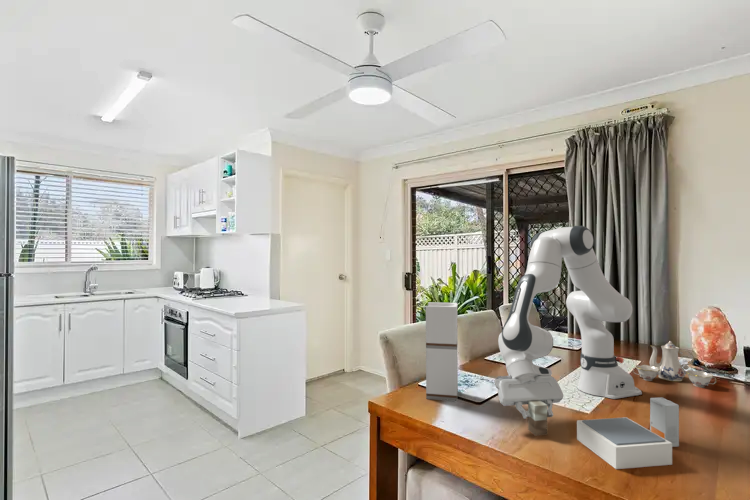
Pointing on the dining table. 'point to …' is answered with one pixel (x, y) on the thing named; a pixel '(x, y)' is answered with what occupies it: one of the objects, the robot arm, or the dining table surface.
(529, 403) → the block
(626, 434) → the block
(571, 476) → the dining table surface
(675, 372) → the chinaware
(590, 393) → the robot arm
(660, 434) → the skincare box
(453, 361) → the banded white tower
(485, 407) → the dining table surface
